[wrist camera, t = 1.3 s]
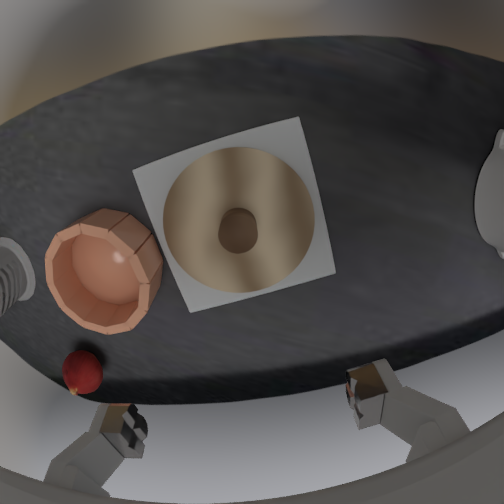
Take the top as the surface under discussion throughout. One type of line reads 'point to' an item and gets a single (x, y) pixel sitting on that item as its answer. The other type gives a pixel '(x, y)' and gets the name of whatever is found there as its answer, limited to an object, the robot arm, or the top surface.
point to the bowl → (104, 270)
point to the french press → (14, 274)
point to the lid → (238, 220)
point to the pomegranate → (82, 372)
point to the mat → (262, 138)
